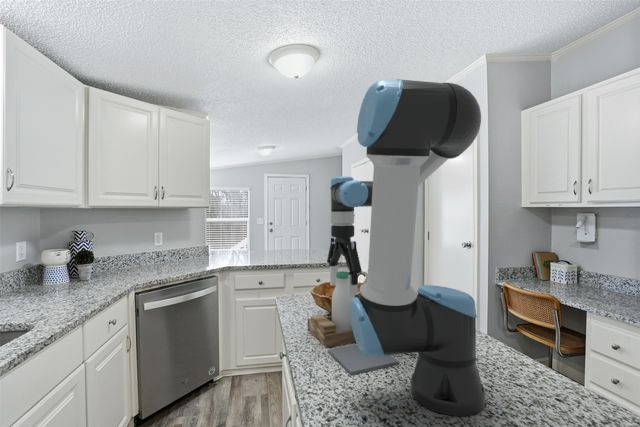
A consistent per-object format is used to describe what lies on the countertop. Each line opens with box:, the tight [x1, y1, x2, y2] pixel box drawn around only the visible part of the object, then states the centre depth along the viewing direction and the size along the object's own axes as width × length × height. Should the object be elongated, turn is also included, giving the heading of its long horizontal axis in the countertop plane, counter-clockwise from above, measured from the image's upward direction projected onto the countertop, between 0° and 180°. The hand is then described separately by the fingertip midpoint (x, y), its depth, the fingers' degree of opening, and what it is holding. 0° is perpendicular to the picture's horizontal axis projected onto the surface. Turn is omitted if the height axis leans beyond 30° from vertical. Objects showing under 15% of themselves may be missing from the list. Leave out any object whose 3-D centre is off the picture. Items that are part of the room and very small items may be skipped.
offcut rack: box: [307, 314, 356, 349], centre depth 108 cm, size 16×16×8 cm
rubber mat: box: [327, 343, 400, 376], centre depth 91 cm, size 14×14×1 cm
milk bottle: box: [331, 270, 356, 333], centre depth 109 cm, size 8×8×20 cm
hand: (343, 289), depth 109 cm, fingers open, 13 cm apart
